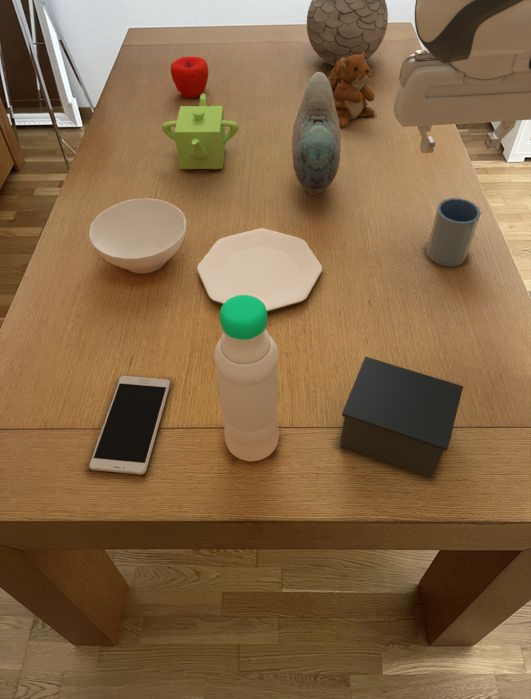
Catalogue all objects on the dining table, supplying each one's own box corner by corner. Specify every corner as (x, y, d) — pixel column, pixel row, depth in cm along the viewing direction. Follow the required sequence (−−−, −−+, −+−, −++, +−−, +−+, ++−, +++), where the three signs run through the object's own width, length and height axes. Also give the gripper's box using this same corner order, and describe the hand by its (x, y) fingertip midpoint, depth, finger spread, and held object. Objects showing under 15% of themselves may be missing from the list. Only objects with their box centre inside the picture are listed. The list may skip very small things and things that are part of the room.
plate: (187, 252, 99) (186, 246, 98) (291, 226, 103) (291, 219, 102) (222, 330, 87) (221, 323, 86) (337, 296, 91) (338, 290, 90)
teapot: (207, 134, 125) (202, 86, 117) (251, 156, 119) (250, 107, 111) (155, 163, 118) (146, 114, 110) (199, 187, 112) (193, 138, 104)
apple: (195, 82, 141) (192, 49, 135) (218, 94, 137) (215, 60, 131) (166, 94, 138) (161, 61, 132) (188, 106, 133) (184, 73, 127)
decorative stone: (339, 220, 104) (349, 117, 89) (290, 219, 105) (292, 116, 89) (335, 159, 118) (344, 60, 102) (292, 158, 118) (294, 59, 103)
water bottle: (268, 470, 72) (264, 342, 53) (217, 454, 73) (195, 324, 54) (285, 426, 76) (288, 292, 57) (237, 411, 78) (224, 276, 58)
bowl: (80, 277, 96) (69, 245, 90) (129, 222, 105) (121, 190, 100) (164, 301, 92) (157, 268, 86) (206, 241, 101) (202, 209, 96)
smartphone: (171, 379, 80) (144, 473, 71) (171, 381, 81) (145, 476, 71) (120, 374, 81) (86, 468, 71) (120, 377, 82) (88, 470, 72)
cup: (469, 246, 99) (483, 203, 92) (462, 270, 95) (476, 227, 88) (431, 237, 101) (442, 194, 94) (422, 260, 97) (433, 217, 90)
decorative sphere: (297, 76, 142) (299, -14, 127) (314, 44, 155) (317, -41, 139) (375, 85, 139) (387, -7, 123) (386, 51, 151) (398, -36, 136)
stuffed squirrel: (343, 130, 125) (348, 70, 115) (309, 104, 133) (311, 45, 123) (379, 119, 128) (388, 59, 118) (344, 94, 136) (349, 35, 126)
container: (448, 421, 76) (463, 386, 70) (433, 481, 70) (447, 448, 64) (358, 392, 79) (365, 356, 73) (336, 447, 74) (342, 413, 68)
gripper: (410, 62, 67) (391, 165, 78) (576, 53, 68) (536, 156, 79) (397, 40, 71) (382, 141, 82) (555, 32, 72) (519, 133, 83)
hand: (458, 149), depth 80 cm, fingers open, 8 cm apart
